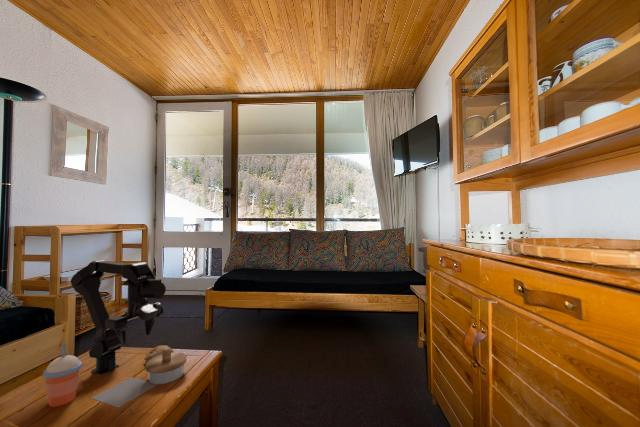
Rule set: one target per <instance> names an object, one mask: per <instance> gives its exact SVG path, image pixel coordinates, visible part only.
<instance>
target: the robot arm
mask: <svg viewBox="0 0 640 427" xmlns="http://www.w3.org/2000/svg"><path fill="white" fill-rule="evenodd" d="M106 273H107V274H112V275H113V274H114V275H120V276H121V277H122V278H123V279H126V280H125V281H124V282H123V283H122V285H123V286H127V299H126V300H124V303H125V304H127V310H126V311H125V312H124V315H126V316H120V315H116V316H113V317H110V315H109V313H108V312H109V311H108V310H107V308H106V305H105V302H104V300H103V298H102V295H101V292H100V287H101V284H102V281H101V278H103V276H105V274H106ZM70 285H71V286H72V288H73V290H74V291H75V292H76V293H77V294H78V295H81V296H82V297H83V299H84V303H85V304H86V308H87V310H88V313H89V316H90V317H91V320H92V323H93V325H94V328H95V330H96V332H95V334H94V339H93V341H94V345H93V346H92V347H91V348H90V350H89V351H88V355H89V358H93V359H95V367H94V368H93V369H91V371H90V372H91V373H94V374H99V375H104V374H106V373H109V372H111V371H113V370H115V369H117V368H119V367H120V365H119V364H116V362H117V361H116V360H117V359H116V351H118V350H120V349H122V346H124V345H126V340H127V338H126V337H127V335H126V331H127V329H128V325H127V324H128V322H131V321H133V320H137V319H139V318H140V319H141V320H142V321H144V326H145V327H144V328H145V329H144V330H145V333H146V336H150V335H151V332H152V329H153V326H154V324H155V322H156V321H157V319H158V318H160V317H161V315H162V314H164V313H165V308H164V307H163V306H162V305H161V302H155V303H151V304H150V301H149V299H155V300H156V299H157V300H158V299H161V298H163V297H164V295H165V294H166V290H167V287H166V285H165V284H164V283H163V282H162V278H157V279H156V276H155V274H153V271H152V269H151V268H150V267H149V265H148V263H147V262H145V261H140V262H139V261H138V262H132V263H130V262H129V263H127V262H126V263H125V262H117V261H111V260H106V259H99V260H93V261H91V262H89V263H88V264H87V265H86V266H85V267H82V268H81V269H79V270H78V271H77V272H76V273H75V274H73V275H72V277H71V279H70Z"/></svg>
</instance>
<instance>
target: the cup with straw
mask: <svg viewBox="0 0 640 427" xmlns="http://www.w3.org/2000/svg"><path fill="white" fill-rule="evenodd" d="M66 345H67V344H66V342H65V341H64V342H62V343H61V356H59V357H57V358H55V359H54V360H52V361H51V362H50V363H49V364H48V366H47V367H46V368H45V369H44V371H43V373H42V376H43V377H44V378H45V388H46V396H47V400H48V406H49V407H51V408H52V407H53V408H55V407H61V406H63V405H66V404H68V403H70V402H72V401H74V399H76V396H77V389H78V387H79V380H80V369H81V368H82V366H83V361H81V360H79V358H78V357H77V356H75V355H71V354H67V355H66Z"/></svg>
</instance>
